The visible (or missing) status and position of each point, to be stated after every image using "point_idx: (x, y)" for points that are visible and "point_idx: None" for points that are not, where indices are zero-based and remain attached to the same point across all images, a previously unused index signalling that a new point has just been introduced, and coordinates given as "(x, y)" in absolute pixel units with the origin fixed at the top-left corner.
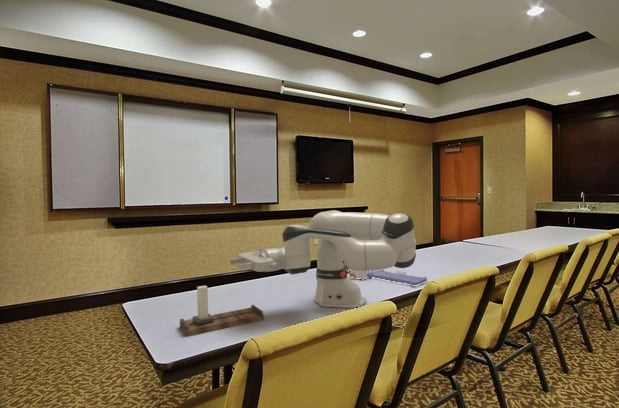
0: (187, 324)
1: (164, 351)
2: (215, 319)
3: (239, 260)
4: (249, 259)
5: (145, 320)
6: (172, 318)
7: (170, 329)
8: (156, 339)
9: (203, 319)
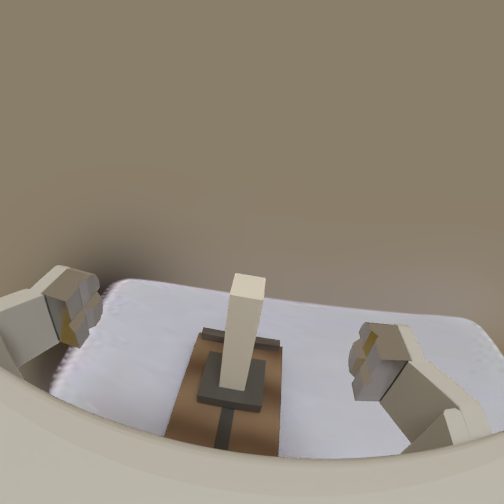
0: None
1: (161, 295)
2: (220, 418)
3: (425, 441)
4: (29, 387)
5: None
6: None
7: (276, 339)
8: None
9: (213, 370)
